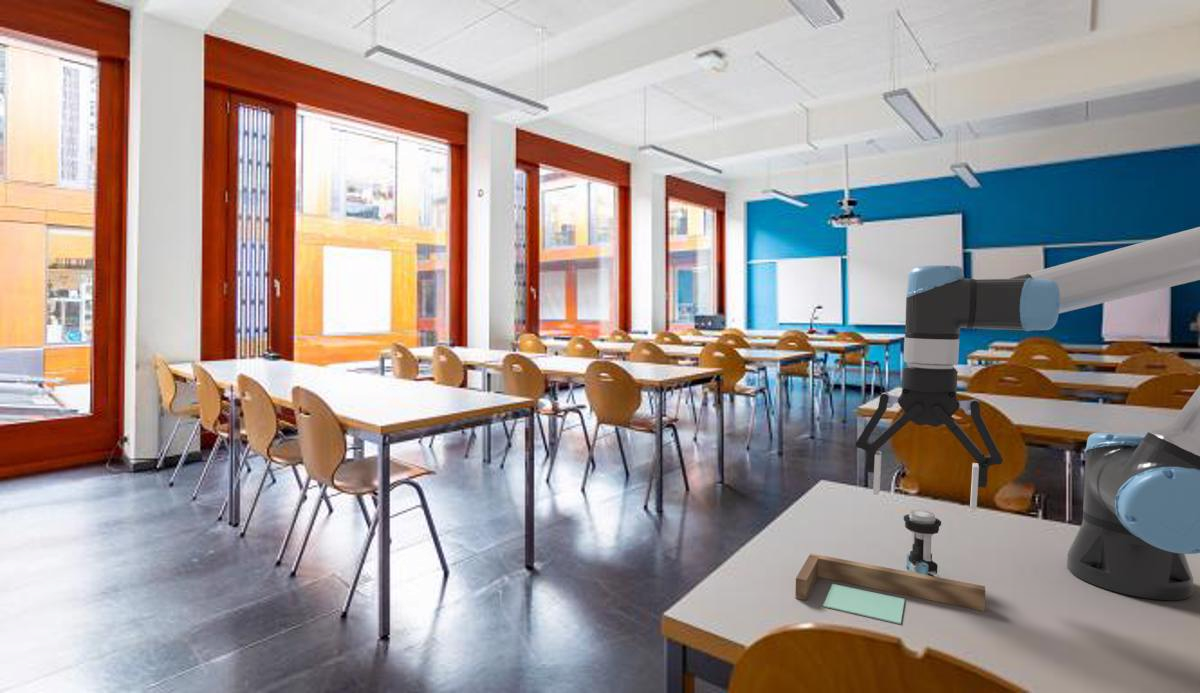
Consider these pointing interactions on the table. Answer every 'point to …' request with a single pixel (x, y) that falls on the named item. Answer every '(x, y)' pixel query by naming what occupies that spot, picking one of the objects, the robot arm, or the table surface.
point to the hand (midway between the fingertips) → (923, 499)
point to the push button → (921, 541)
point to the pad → (865, 603)
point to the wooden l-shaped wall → (888, 581)
